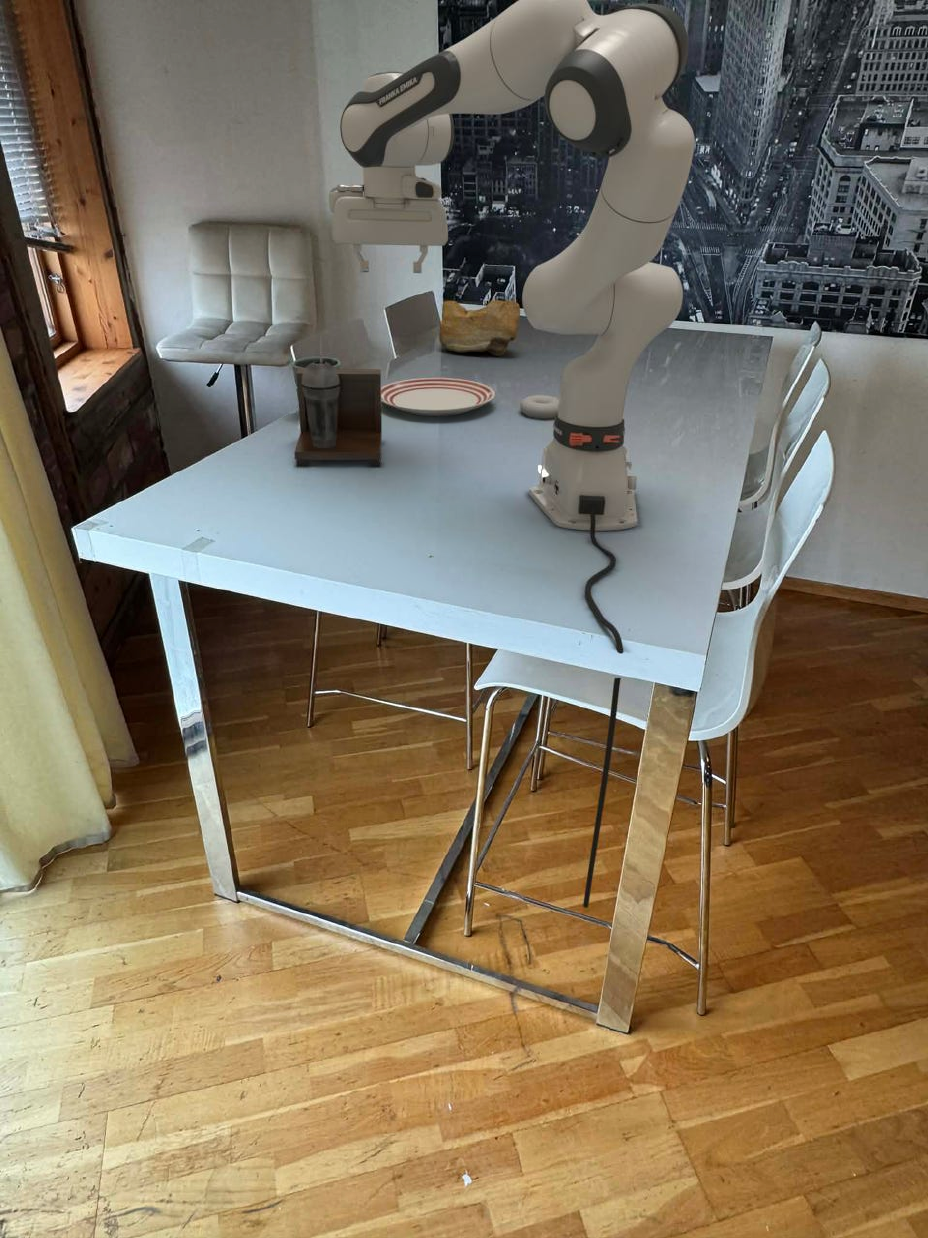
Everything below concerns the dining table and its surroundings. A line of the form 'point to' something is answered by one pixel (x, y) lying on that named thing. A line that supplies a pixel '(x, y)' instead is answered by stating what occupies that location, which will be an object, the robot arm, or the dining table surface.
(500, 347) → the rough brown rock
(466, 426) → the dining table surface
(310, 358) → the drinking glass
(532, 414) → the donut
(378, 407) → the shelf
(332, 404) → the beverage cup
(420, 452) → the dining table surface
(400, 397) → the dinner plate
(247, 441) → the dining table surface
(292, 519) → the dining table surface
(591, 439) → the robot arm
